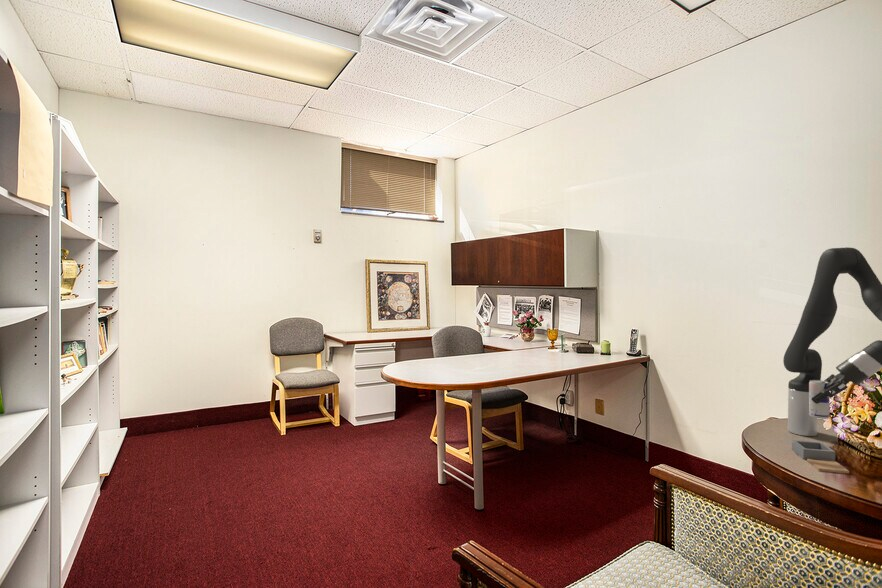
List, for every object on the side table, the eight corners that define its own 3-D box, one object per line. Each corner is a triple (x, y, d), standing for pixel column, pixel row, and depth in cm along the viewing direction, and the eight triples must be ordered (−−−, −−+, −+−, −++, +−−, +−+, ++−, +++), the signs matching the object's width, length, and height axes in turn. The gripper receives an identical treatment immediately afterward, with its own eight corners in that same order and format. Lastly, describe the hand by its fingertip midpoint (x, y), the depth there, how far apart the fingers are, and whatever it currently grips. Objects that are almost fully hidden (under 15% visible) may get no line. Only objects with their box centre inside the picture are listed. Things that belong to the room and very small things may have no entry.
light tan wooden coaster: (807, 461, 156) (807, 458, 156) (835, 463, 154) (835, 461, 154) (818, 470, 148) (818, 468, 148) (849, 473, 146) (849, 471, 146)
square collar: (791, 449, 166) (791, 440, 166) (821, 452, 163) (821, 442, 163) (803, 459, 157) (803, 449, 157) (835, 462, 155) (835, 451, 155)
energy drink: (833, 419, 154) (833, 383, 154) (816, 419, 154) (816, 383, 154) (821, 414, 159) (821, 379, 159) (805, 414, 160) (805, 379, 159)
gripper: (843, 355, 158) (799, 386, 165) (853, 362, 146) (805, 395, 153) (864, 372, 156) (818, 403, 162) (876, 380, 144) (826, 413, 150)
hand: (812, 399), depth 158 cm, fingers closed on energy drink, 5 cm apart
